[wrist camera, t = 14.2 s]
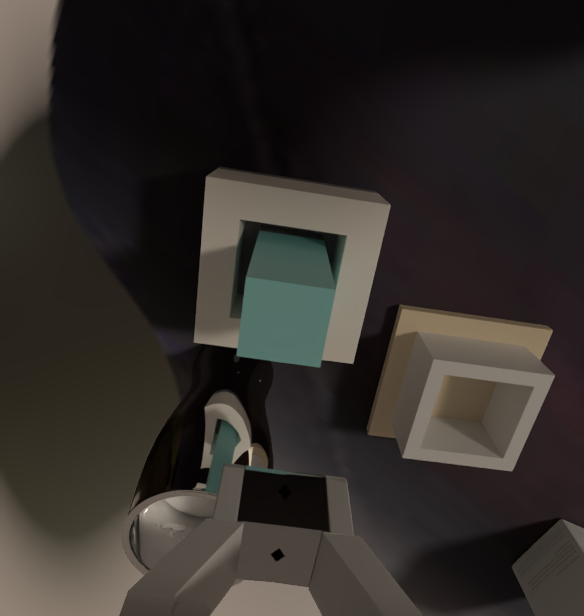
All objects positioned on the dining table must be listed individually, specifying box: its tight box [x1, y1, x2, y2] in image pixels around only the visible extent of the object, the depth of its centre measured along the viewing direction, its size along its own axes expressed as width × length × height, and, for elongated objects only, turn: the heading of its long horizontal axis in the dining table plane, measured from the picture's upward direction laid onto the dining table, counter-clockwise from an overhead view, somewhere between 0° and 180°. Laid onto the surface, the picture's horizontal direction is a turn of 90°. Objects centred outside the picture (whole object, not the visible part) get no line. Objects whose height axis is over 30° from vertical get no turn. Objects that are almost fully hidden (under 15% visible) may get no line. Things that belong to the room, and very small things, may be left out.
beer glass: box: [122, 344, 273, 586], centre depth 27 cm, size 7×7×15 cm
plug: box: [237, 225, 336, 367], centre depth 25 cm, size 4×4×10 cm
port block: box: [194, 166, 391, 364], centre depth 28 cm, size 10×10×5 cm
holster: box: [367, 305, 555, 471], centre depth 32 cm, size 11×11×5 cm
